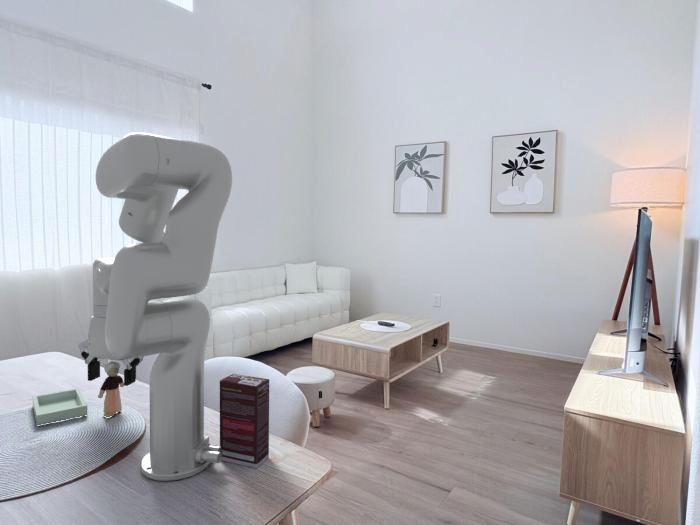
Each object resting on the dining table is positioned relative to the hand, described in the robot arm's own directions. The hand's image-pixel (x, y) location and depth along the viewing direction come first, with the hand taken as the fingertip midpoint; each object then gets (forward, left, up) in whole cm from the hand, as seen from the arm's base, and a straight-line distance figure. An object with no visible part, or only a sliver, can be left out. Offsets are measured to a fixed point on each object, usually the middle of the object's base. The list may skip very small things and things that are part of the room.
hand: (111, 381), depth 104 cm
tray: (+12, +2, -8) cm, 15 cm away
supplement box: (-39, +12, -8) cm, 42 cm away
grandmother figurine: (-1, 0, -8) cm, 8 cm away
